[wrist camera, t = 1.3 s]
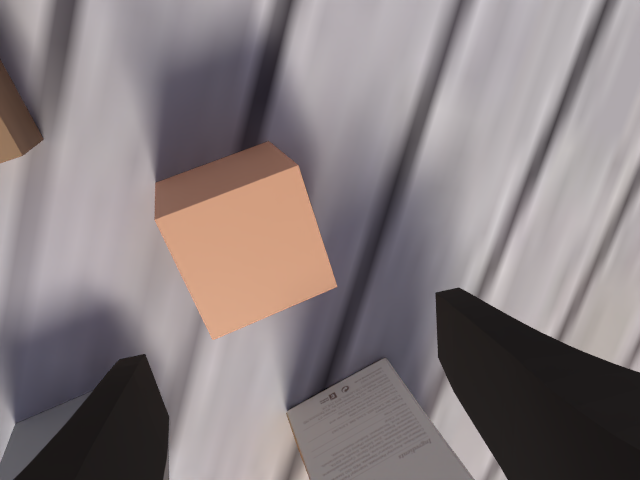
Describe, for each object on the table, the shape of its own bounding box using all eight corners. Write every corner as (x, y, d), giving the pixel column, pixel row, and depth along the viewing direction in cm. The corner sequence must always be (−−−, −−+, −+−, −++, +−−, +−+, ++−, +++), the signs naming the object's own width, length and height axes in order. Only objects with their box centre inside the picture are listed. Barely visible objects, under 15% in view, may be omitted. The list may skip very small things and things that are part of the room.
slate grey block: (71, 493, 24) (51, 594, 20) (15, 422, 22) (-22, 517, 17) (168, 448, 25) (170, 535, 20) (124, 376, 23) (115, 455, 18)
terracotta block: (202, 282, 22) (212, 340, 18) (155, 182, 20) (154, 219, 16) (302, 241, 23) (337, 286, 18) (268, 140, 21) (298, 165, 16)
